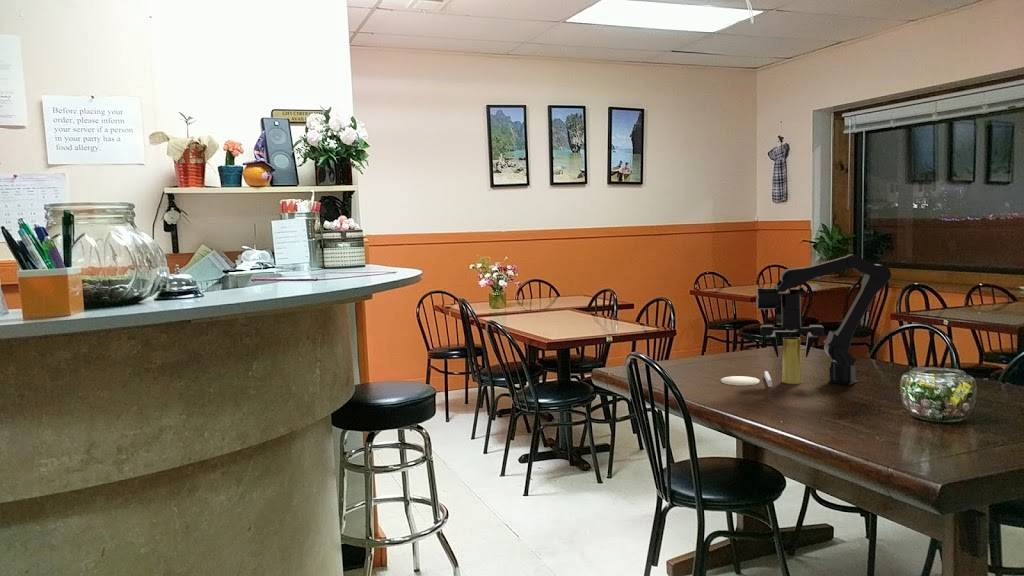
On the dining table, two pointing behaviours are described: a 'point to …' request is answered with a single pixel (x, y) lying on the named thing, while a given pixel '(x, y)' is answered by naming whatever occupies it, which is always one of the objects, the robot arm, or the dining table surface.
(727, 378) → the mat
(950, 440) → the dining table surface
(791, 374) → the vase
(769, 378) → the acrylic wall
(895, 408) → the dining table surface
